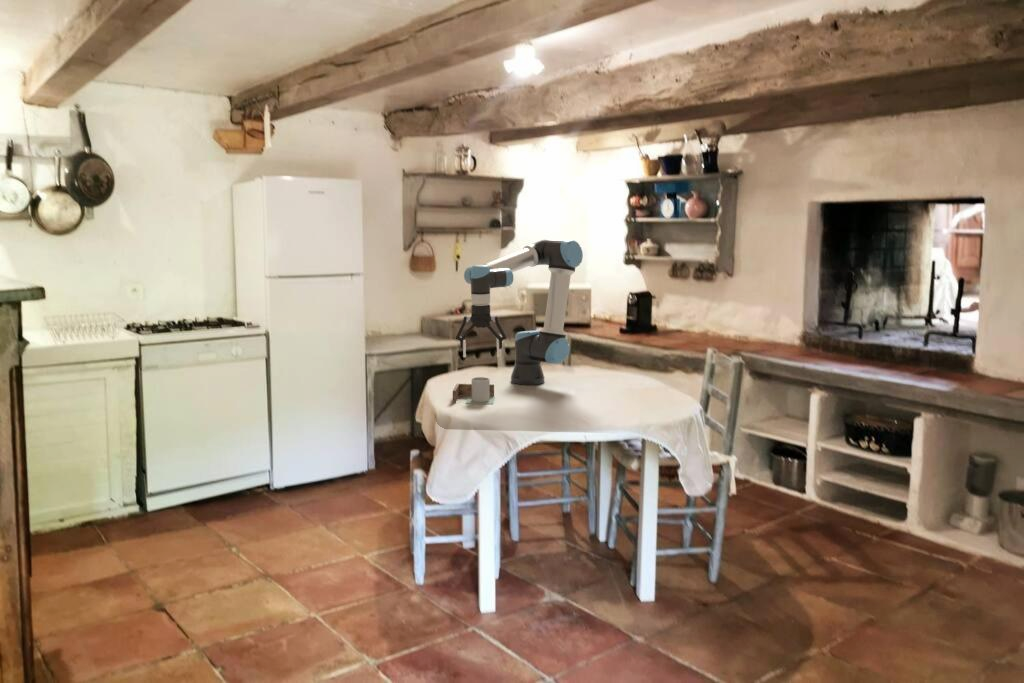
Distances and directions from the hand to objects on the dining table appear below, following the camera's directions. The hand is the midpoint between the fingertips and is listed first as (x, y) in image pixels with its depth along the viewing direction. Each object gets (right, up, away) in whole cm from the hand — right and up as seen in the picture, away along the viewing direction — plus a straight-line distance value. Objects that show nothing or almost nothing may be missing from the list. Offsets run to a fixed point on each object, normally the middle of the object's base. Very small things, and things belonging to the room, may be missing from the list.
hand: (481, 356), depth 319 cm
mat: (-1, -18, +3) cm, 18 cm away
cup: (-1, -18, +3) cm, 18 cm away
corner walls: (-3, -17, +4) cm, 18 cm away
